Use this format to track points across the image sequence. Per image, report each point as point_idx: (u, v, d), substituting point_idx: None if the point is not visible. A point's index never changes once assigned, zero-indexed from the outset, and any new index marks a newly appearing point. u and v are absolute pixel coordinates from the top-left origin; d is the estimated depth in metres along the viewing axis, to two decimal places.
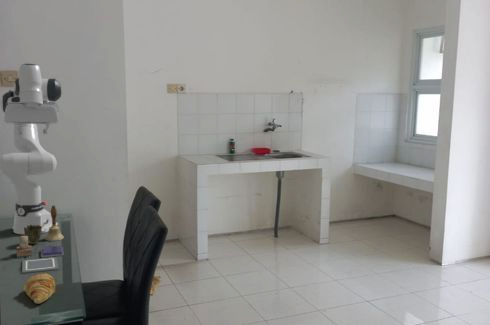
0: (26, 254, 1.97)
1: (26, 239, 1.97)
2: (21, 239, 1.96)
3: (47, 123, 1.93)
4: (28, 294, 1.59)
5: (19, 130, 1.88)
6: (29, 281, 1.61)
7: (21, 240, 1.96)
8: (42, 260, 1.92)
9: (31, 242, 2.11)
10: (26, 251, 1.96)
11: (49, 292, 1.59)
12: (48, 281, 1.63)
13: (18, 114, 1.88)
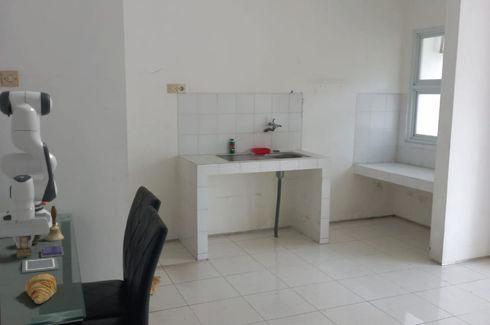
0: (26, 254, 1.97)
1: (26, 239, 1.97)
2: (21, 239, 1.96)
3: (32, 235, 1.98)
4: (29, 294, 1.59)
5: (17, 243, 1.96)
6: (30, 281, 1.61)
7: (21, 240, 1.96)
8: (42, 260, 1.92)
9: None
10: (26, 251, 1.96)
11: (50, 292, 1.59)
12: (49, 281, 1.63)
13: (9, 229, 1.93)
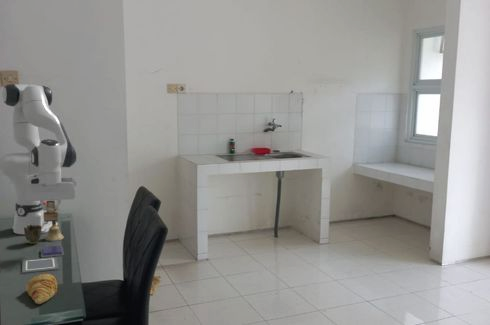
0: (53, 218, 1.98)
1: (53, 203, 1.98)
2: (48, 203, 1.97)
3: (59, 200, 1.99)
4: (30, 294, 1.59)
5: (44, 208, 1.97)
6: (31, 281, 1.61)
7: (48, 204, 1.97)
8: (42, 260, 1.92)
9: (31, 242, 2.11)
10: (53, 215, 1.98)
11: (50, 292, 1.59)
12: (50, 281, 1.62)
13: (37, 193, 1.95)
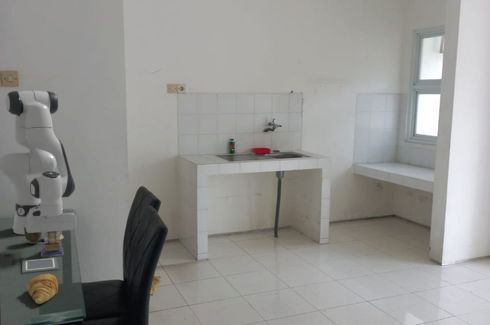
0: (54, 249, 2.00)
1: (54, 234, 2.00)
2: (49, 234, 1.99)
3: (60, 231, 2.01)
4: (30, 294, 1.59)
5: (46, 239, 2.00)
6: (32, 281, 1.62)
7: (49, 235, 1.99)
8: (42, 260, 1.92)
9: (31, 242, 2.11)
10: (54, 246, 2.00)
11: (51, 292, 1.59)
12: (50, 281, 1.62)
13: (38, 225, 1.97)
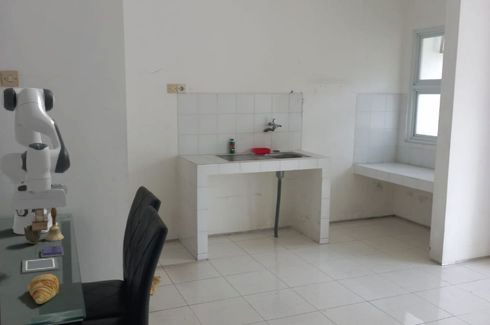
0: (42, 227, 1.83)
1: (42, 211, 1.84)
2: (37, 211, 1.83)
3: (48, 208, 1.85)
4: (31, 294, 1.59)
5: (33, 217, 1.83)
6: (33, 281, 1.62)
7: (37, 212, 1.83)
8: (42, 260, 1.92)
9: (31, 242, 2.11)
10: (42, 224, 1.83)
11: (51, 293, 1.59)
12: (51, 281, 1.62)
13: (25, 201, 1.80)
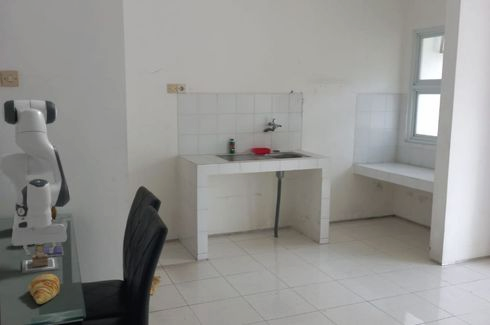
0: (42, 263, 1.85)
1: (42, 248, 1.86)
2: (37, 248, 1.85)
3: (53, 243, 1.88)
4: (32, 294, 1.59)
5: (28, 252, 1.84)
6: (34, 281, 1.62)
7: (37, 249, 1.85)
8: None
9: None
10: (42, 260, 1.85)
11: (52, 293, 1.59)
12: (52, 282, 1.62)
13: (25, 237, 1.82)
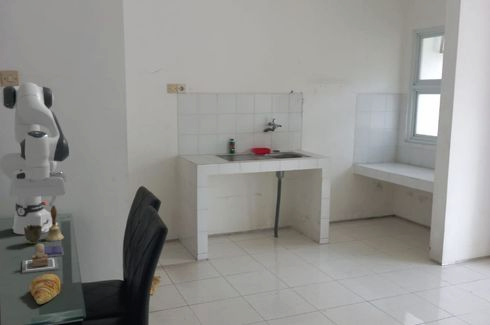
0: (42, 263, 1.85)
1: (42, 248, 1.86)
2: (37, 248, 1.85)
3: (53, 196, 1.86)
4: (32, 294, 1.59)
5: (24, 205, 1.82)
6: (34, 281, 1.62)
7: (37, 249, 1.85)
8: None
9: (31, 242, 2.11)
10: (42, 260, 1.85)
11: (52, 293, 1.59)
12: (53, 282, 1.62)
13: (23, 189, 1.80)
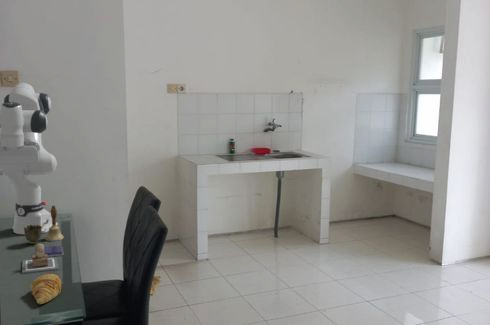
0: (42, 263, 1.85)
1: (42, 248, 1.86)
2: (37, 248, 1.85)
3: (28, 164, 1.97)
4: (33, 294, 1.59)
5: (0, 172, 1.93)
6: (35, 281, 1.62)
7: (37, 249, 1.85)
8: None
9: (31, 242, 2.11)
10: (42, 260, 1.85)
11: (53, 293, 1.59)
12: (53, 282, 1.62)
13: None
